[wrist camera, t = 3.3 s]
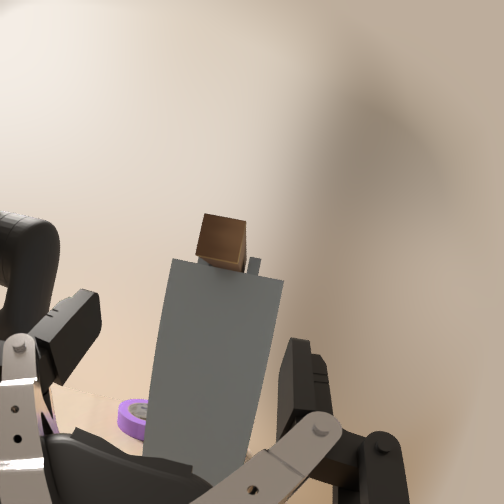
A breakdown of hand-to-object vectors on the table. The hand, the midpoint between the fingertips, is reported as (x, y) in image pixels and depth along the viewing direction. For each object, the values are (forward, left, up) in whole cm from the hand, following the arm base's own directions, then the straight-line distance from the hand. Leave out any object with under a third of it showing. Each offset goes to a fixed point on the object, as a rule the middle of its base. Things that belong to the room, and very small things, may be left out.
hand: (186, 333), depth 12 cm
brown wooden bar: (+4, +17, +4) cm, 18 cm away
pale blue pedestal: (+6, +21, -28) cm, 36 cm away
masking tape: (0, +44, -29) cm, 53 cm away
